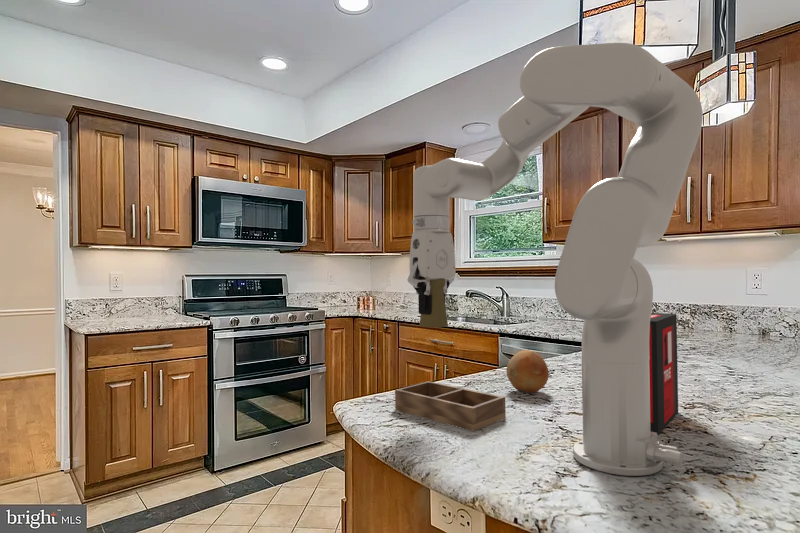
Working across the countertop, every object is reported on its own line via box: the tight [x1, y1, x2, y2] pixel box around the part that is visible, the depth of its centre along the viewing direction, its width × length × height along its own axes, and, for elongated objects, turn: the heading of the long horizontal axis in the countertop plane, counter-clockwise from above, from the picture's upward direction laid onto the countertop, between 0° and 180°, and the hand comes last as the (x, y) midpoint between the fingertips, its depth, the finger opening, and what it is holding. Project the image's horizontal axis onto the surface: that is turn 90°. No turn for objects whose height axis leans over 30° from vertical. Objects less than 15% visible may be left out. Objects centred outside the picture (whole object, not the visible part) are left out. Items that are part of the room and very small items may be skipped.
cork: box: [418, 277, 449, 328], centre depth 101 cm, size 6×6×11 cm
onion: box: [506, 349, 550, 394], centre depth 115 cm, size 10×10×10 cm
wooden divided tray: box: [394, 380, 507, 432], centre depth 99 cm, size 20×11×4 cm, turn 45°
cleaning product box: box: [649, 312, 679, 436], centre depth 94 cm, size 16×9×20 cm, turn 139°
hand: (432, 312), depth 101 cm, fingers closed on cork, 3 cm apart
